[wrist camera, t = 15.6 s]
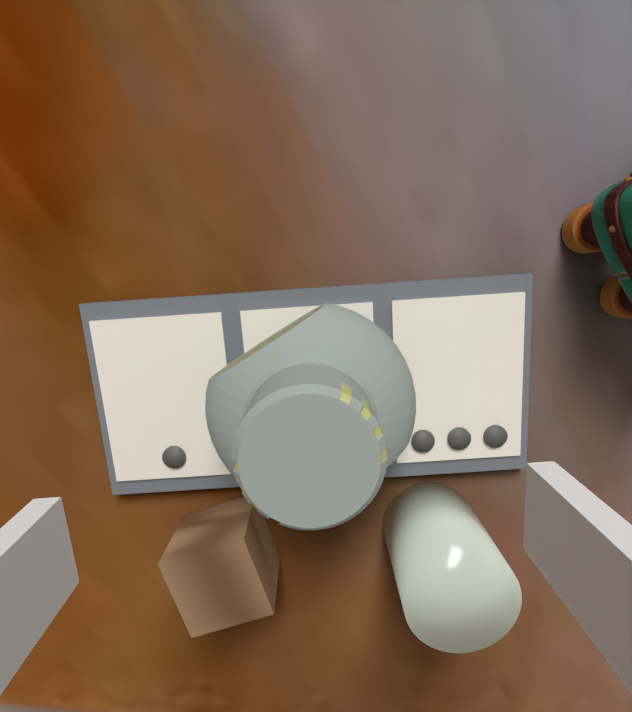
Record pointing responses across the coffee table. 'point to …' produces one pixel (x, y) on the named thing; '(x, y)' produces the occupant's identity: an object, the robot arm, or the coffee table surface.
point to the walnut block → (222, 567)
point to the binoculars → (607, 242)
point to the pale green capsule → (449, 570)
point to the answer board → (277, 310)
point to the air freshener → (313, 417)
